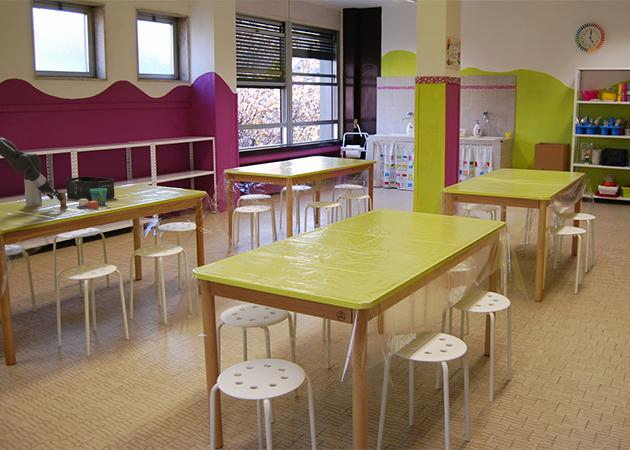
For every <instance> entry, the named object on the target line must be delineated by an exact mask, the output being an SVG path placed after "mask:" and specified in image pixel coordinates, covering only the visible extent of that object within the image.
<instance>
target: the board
mask: <svg viewBox="0 0 630 450" xmlns="http://www.w3.org/2000/svg"><path fill="white" fill-rule="evenodd" d="M58 209H59V210H61V209H60V207H59V208H58ZM82 209H91V210H90V211H91V212H92V211H93V210H95V211H97V210H99V205H98V202H97V201H88V205H87V206H79V205H77V206H76V208H70V207H68V208H67V209H64V210H66V211H73V212H74V211H75V212H77V213H79V214H80V213H82V212H84V213H85V212H86V213H87V212H88V210H87V211H85V210H82Z"/></svg>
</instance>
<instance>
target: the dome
mask: <svg viewBox="0 0 630 450" xmlns="http://www.w3.org/2000/svg"><path fill="white" fill-rule="evenodd" d="M77 200H78V199H77ZM77 202H78V206H87V205H88V202H89V201H88V200H87V199H80V200H78V201H77Z"/></svg>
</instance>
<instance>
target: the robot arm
mask: <svg viewBox="0 0 630 450" xmlns="http://www.w3.org/2000/svg"><path fill="white" fill-rule="evenodd" d="M0 156H1V157H3V158H4V159H5V160H6V161H7V162H8V164H9V165H10V166H11V167H12V168H13V169H14V171H15V172H17V173H23V172H24V175H23V179H24V182H23V183H24V190H25V191H24V199H25V206H26V207H27V208H29V207H31V208H33V207H35V208H36V207H41V206H43V200H42V199H43V198H42V194H43V195H45V196H47V197H49V199H50V200H53V199H54V198H56V199H57V200H58V201H59V202H60V201H62V200H63V198H62V197H61V196H60V195H61V194H60V193H59V192H60V191H58V190H57V189H56V187H52V186H51V183H50V181H49V180H48V179H47V178H46V177H45V176H44V175H43V174H41V173H42V172H41V171H42V170H41V169H42V167H41V158H40V156H39V155H38V154H37V153H26V152H24V151H21V150H19V149H17V146H16V145H15V144H14V143H13V142H12V141H10V140H8V139H6V138H4V137H0Z"/></svg>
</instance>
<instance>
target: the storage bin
mask: <svg viewBox="0 0 630 450" xmlns="http://www.w3.org/2000/svg"><path fill="white" fill-rule="evenodd" d="M65 182H66V184H65V185H66V199H71V200H80V199H87V200H88V202H91V201H92V197H91V193H90V189H94V188H106V189H107V192H106V200H110V198H111V199H114V197H115V183H114V182H115V181H114V178H109V177H98V176H89V175H87V176H86V175H85V176H77V177H71V178H69V177H68V178H66V179H65ZM115 198H116V197H115Z"/></svg>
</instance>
